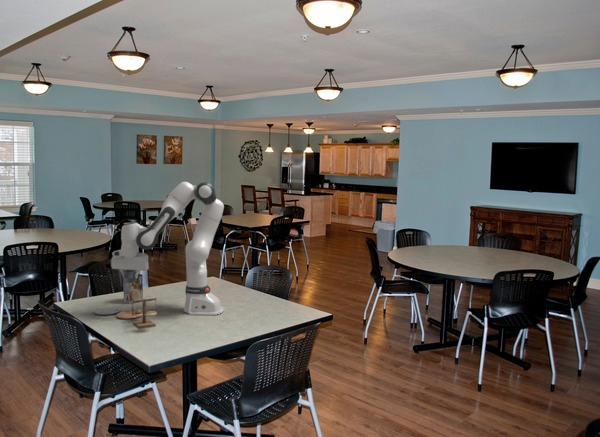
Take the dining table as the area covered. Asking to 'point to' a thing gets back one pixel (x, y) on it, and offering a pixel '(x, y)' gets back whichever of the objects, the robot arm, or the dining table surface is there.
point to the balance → (144, 322)
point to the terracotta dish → (126, 315)
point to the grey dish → (106, 310)
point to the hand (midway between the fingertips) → (130, 277)
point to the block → (129, 276)
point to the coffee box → (133, 290)
